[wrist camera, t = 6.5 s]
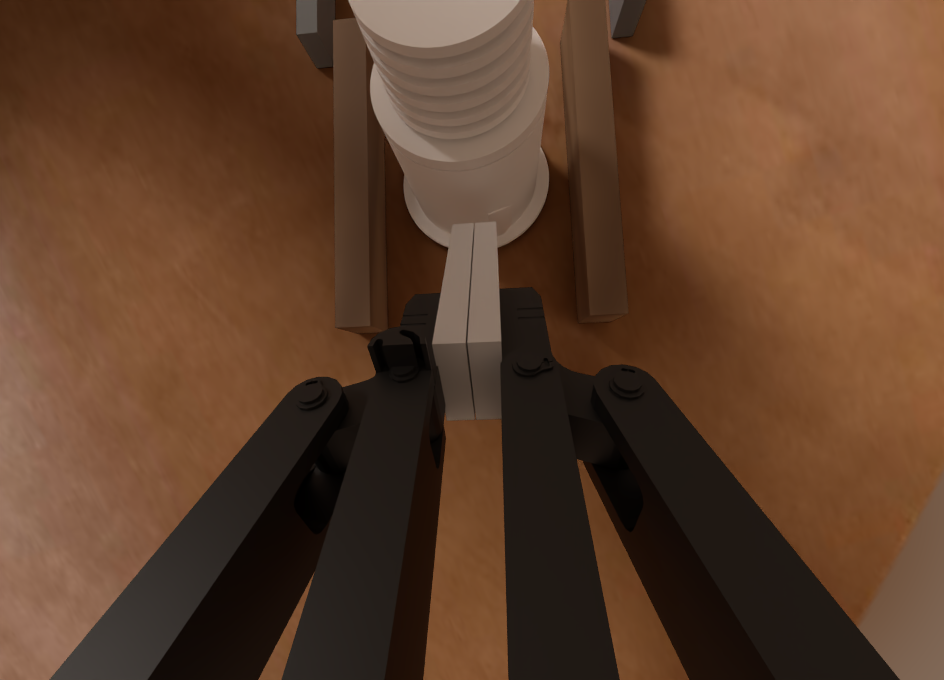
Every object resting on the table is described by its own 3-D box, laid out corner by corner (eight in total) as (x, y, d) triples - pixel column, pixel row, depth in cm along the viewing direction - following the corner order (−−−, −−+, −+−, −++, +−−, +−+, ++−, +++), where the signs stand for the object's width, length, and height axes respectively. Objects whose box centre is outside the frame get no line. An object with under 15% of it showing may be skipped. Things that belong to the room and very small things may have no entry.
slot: (357, 333, 19) (335, 327, 16) (354, 64, 20) (332, 19, 17) (610, 321, 18) (628, 313, 15) (591, 40, 19) (604, -11, 16)
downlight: (573, 233, 18) (649, 42, 8) (434, 283, 18) (345, 160, 8) (515, 91, 19) (521, -222, 9) (386, 141, 20) (260, -110, 10)
